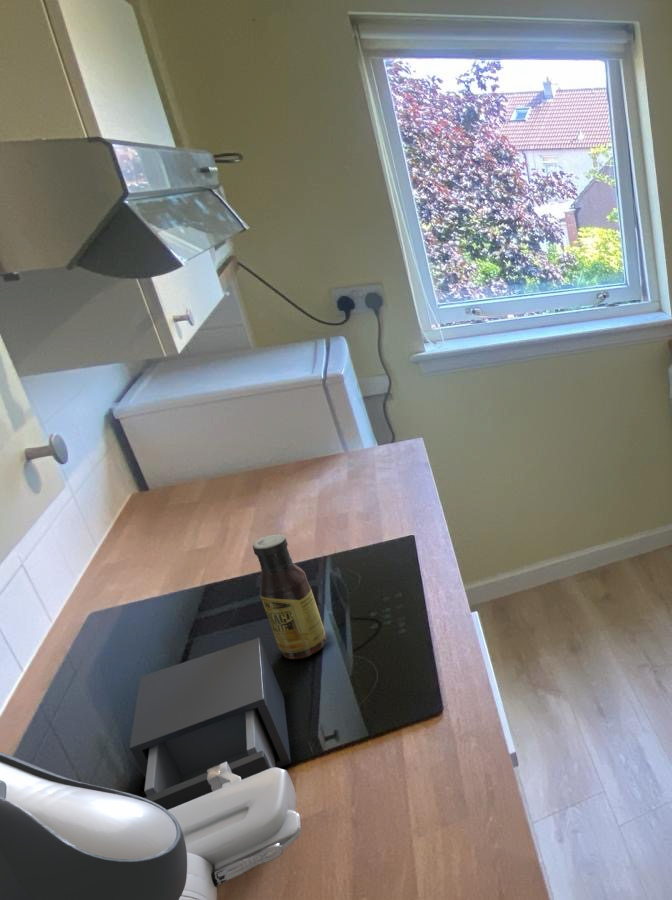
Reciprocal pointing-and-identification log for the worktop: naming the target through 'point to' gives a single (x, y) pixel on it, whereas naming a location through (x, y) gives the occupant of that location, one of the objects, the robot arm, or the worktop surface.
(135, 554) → the worktop surface
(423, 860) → the worktop surface
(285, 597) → the sauce bottle
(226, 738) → the drawer
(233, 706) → the cabinet
